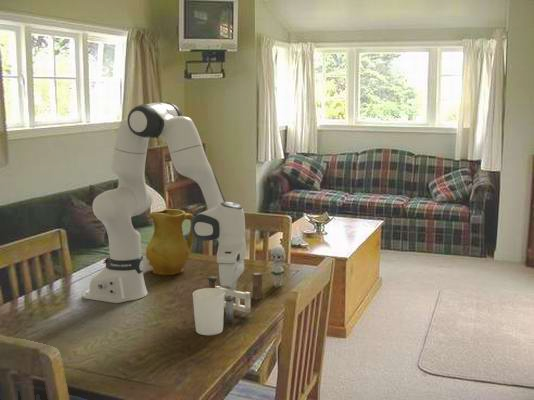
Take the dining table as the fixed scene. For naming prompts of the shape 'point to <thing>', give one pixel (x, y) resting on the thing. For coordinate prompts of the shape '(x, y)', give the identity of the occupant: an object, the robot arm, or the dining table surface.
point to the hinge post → (212, 281)
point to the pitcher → (169, 242)
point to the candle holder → (209, 310)
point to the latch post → (229, 309)
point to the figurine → (278, 262)
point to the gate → (238, 299)
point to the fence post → (257, 285)
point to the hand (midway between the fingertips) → (233, 292)
